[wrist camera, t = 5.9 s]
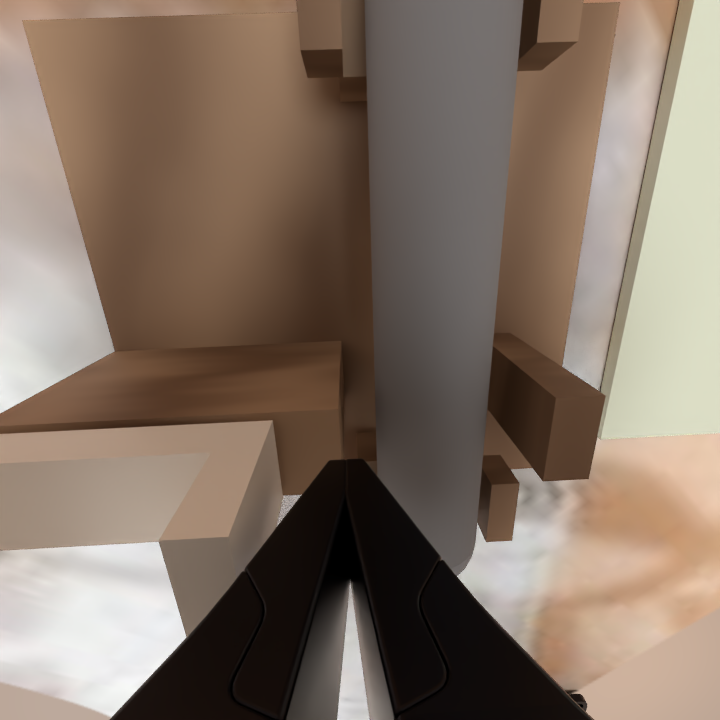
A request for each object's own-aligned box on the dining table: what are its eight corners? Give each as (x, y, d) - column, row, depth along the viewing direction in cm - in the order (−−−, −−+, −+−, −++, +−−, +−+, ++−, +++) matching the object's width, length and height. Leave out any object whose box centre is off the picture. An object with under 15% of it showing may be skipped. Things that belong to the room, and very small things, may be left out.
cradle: (599, 12, 12) (881, -227, 5) (534, 457, 17) (637, 585, 11) (46, 29, 11) (-309, -204, 5) (165, 477, 17) (62, 619, 11)
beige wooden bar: (272, 420, 9) (228, 536, 5) (283, 497, 9) (249, 640, 6) (-28, 435, 8) (-257, 564, 5) (7, 512, 9) (-173, 666, 6)
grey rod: (498, -104, 8) (584, -290, 5) (457, 527, 15) (486, 605, 12) (357, -101, 8) (363, -287, 5) (376, 532, 15) (384, 612, 12)
